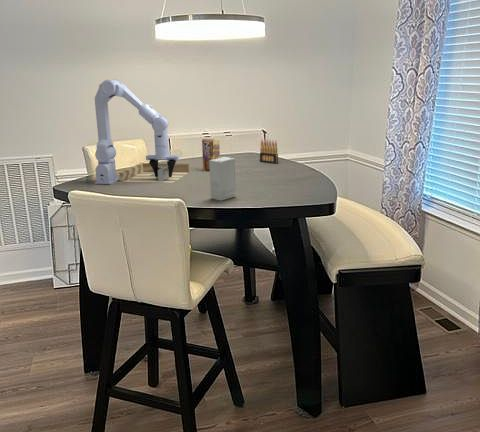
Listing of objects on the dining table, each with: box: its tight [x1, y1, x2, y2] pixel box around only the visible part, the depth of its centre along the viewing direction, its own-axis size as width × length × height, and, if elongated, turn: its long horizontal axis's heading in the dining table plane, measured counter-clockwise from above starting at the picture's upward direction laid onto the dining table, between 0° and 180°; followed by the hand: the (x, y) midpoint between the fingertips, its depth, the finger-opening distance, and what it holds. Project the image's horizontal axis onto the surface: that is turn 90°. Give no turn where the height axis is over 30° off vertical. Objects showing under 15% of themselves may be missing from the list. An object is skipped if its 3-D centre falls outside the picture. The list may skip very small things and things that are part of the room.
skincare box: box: [209, 156, 237, 201], centre depth 189 cm, size 8×6×15 cm
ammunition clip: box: [259, 139, 279, 165], centre depth 261 cm, size 11×2×12 cm, turn 49°
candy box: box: [201, 138, 221, 173], centre depth 242 cm, size 9×4×15 cm, turn 39°
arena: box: [119, 162, 190, 184], centre depth 229 cm, size 24×24×5 cm
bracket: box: [156, 167, 170, 182], centre depth 223 cm, size 8×6×5 cm
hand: (163, 176), depth 222 cm, fingers open, 6 cm apart
